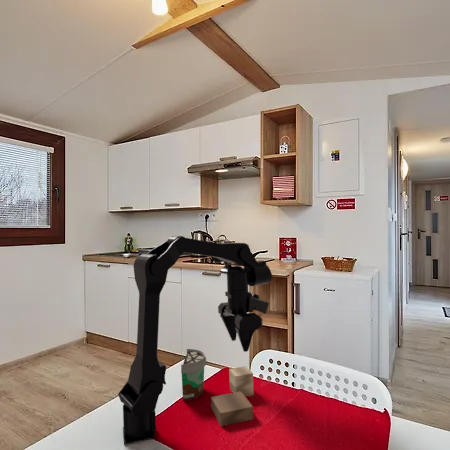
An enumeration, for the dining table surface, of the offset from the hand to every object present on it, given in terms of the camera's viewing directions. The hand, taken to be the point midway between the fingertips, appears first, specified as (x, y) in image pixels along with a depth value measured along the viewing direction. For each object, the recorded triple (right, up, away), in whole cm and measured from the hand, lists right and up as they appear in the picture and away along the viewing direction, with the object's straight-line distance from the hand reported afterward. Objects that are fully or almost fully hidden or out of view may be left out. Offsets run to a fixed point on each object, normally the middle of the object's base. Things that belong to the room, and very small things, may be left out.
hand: (239, 345), depth 95 cm
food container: (-12, -13, +1) cm, 18 cm away
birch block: (+1, -13, 0) cm, 13 cm away
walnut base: (-2, -13, -11) cm, 17 cm away
